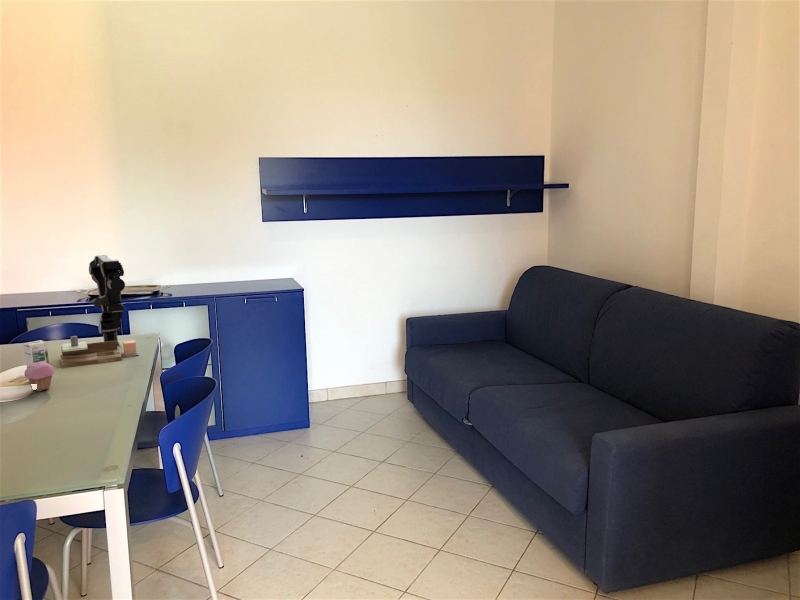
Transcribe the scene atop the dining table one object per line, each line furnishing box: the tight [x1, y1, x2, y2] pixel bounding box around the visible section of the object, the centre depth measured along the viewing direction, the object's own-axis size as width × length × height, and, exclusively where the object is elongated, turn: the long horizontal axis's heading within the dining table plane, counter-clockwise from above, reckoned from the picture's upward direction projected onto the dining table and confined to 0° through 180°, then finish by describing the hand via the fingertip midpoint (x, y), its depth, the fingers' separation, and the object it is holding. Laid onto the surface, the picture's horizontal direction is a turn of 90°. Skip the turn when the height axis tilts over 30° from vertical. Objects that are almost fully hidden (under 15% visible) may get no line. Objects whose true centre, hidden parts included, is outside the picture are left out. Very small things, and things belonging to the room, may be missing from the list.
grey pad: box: [121, 350, 140, 358], centre depth 257 cm, size 8×6×1 cm
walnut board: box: [60, 340, 123, 369], centre depth 250 cm, size 16×22×5 cm
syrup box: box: [23, 339, 50, 369], centre depth 221 cm, size 6×6×14 cm
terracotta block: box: [122, 339, 137, 355], centre depth 257 cm, size 4×4×5 cm
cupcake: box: [24, 362, 55, 392], centre depth 209 cm, size 9×9×10 cm
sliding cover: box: [61, 335, 88, 353], centre depth 248 cm, size 12×9×5 cm
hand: (116, 324), depth 261 cm, fingers open, 9 cm apart
